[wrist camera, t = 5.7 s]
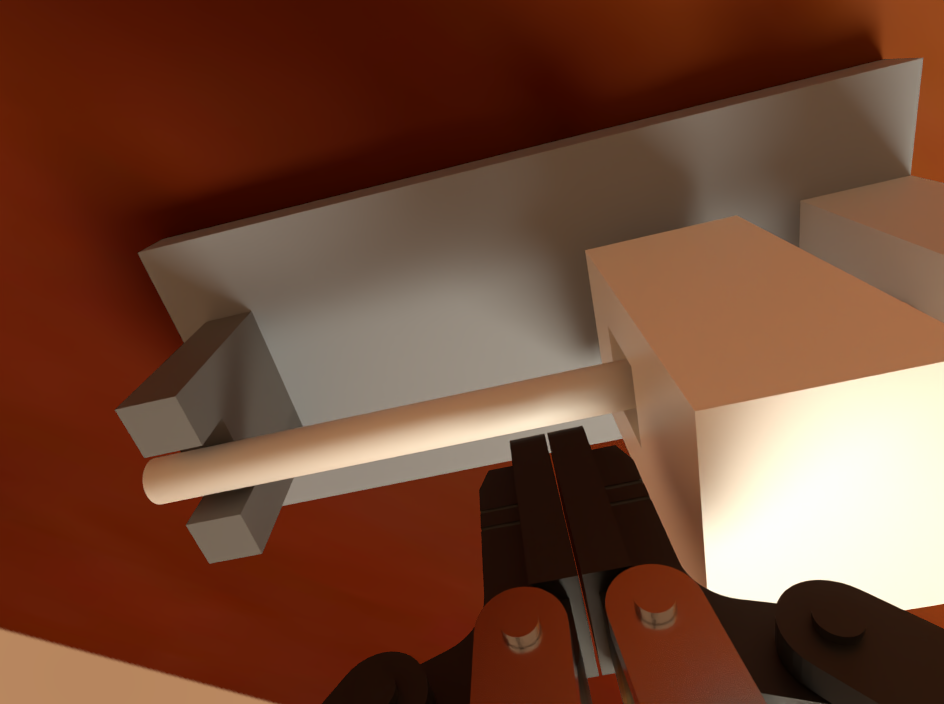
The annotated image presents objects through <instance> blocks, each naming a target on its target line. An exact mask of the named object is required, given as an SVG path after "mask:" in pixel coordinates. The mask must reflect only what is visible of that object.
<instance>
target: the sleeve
mask: <svg viewBox="0 0 944 704" xmlns="http://www.w3.org/2000/svg"><path fill="white" fill-rule="evenodd" d="M585 254H586V260H587V267H588V274H589V280H590V287H591V293H592V300H593V307H594V313H595V320H596V327H597V333H598V340H599V347H600V353H601V360H602V364H603V363H608V362H613V361H617V360H622V359H627V360H628V362H629V364H630V365H631V368H632V376H633V384H634V392H635V400H636V408H634V409H629V410H624V411H619V412H615V413H612V415H613V417H614V419H615V422H616V424H617V426H618V429H619V431H620V433H621V435H622V438H623V440H624V442H625V445H626V447H627V449H628V452H629V454H630V456H631V458H632V459H633V460H634V462H635V464H636V467H637V469H638V471H639V473H640V476H641V478H642V481H643V483H644V484H645V487H646V489H647V491H648V493H649V496H650V499H651V500H652V502H653V504H654V507H655V509H656V511H657V513H658V516H659V518H660V520H661V522H662V524H663V527H664V529H665V531H666V533H667V536H668V538H669V540H670V542H671V544H672V547H673V549H674V551H675V553H676V556H677V558H678V560H679V562H680V564H681V566H682V567H683V569H684V570H685V571H686V573H687V574H688V575H689V576H690V577H691V578H692V579H693V580H695V581H696V582H697V583H699V584H700V585H701V586H703V587H705V588H707V589H709V590H710V591H713V592H715V593H718V594H720V595H723V596H727V597H731V598H737V599H744V600H753V601H762V602H771V603H777V601H778V599H779V598H780V596H781V595H782V593H783V592H784V591H785V590H786V589H788V588H789V587H791V586H792V585H795V584H797V583H800V582H804V581H808V580H830V581H836V582H841V583H844V584H847V585H851V586H853V587H855V588H858V589H860V590H862V591H865V592H867V593H869V594H871V595H873V596H875V597H877V598H879V599H881V600H884V601H886V602H888V603H890V604H892V605H894V606H896V607H898V608H900V609H903V610H908V609H914V608H920V607H926V606H933V605H939V604H944V323H942V322H940V321H938V320H936V319H935V318H933V317H931V316H929V315H927V314H925V313H923V312H921V311H919V310H917V309H915V308H913V307H912V306H910V305H908V304H906V303H904V302H902V301H900V300H898V299H896V298H894V297H892V296H890V295H888V294H887V293H885V292H883V291H881V290H879V289H877V288H875V287H873V286H871V285H869V284H867V283H865V282H864V281H862V280H860V279H858V278H856V277H854V276H852V275H850V274H848V273H846V272H844V271H842V270H841V269H839V268H837V267H835V266H833V265H831V264H829V263H827V262H825V261H823V260H821V259H819V258H818V257H816V256H814V255H812V254H810V253H808V252H806V251H804V250H802V249H800V248H798V247H796V246H795V245H793V244H791V243H789V242H787V241H785V240H783V239H781V238H779V237H777V236H775V235H773V234H772V233H770V232H768V231H766V230H764V229H762V228H760V227H758V226H756V225H754V224H752V223H750V222H748V221H747V220H745V219H743V218H741V217H739V216H737V215H736V216H732V217H727V218H723V219H719V220H714V221H710V222H706V223H701V224H697V225H693V226H688V227H684V228H680V229H675V230H671V231H667V232H662V233H658V234H654V235H649V236H645V237H641V238H636V239H632V240H627V241H623V242H619V243H614V244H610V245H606V246H601V247H597V248H593V249H588V250H585Z"/></svg>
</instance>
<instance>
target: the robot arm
mask: <svg viewBox="0 0 944 704" xmlns="http://www.w3.org/2000/svg"><path fill="white" fill-rule="evenodd" d="M547 435H548V440H549V445H550V450H551V454H552V459H553V464H554V469H555V473H556V478H557V483H558V488H559V492H560V497H561V502H562V506H563V510H562V506H561V502H560V497H559V493H558V489H557V485H556V480H555V476H554V472H553V468H552V463H551V459H550V455H549V451H548V446H547V442H546V438H545V434H539V435H534V436H530V437H525V438H520V439H515V440H510V450H511V457H512V464H513V466H510V467H505V468H500V469H495V470H490V471H488V473H487V475H486V477H485V480H484V482H483V484H482V486H481V488H480V490H479V493H480V511H481V529H482V532H481V536H482V558H483V579H484V606H483V609H482V610H481V612H480V614H479V615H478V617H477V620H476V623H475V627H474V628H473V630H472V631H471V632H470V634H469V635H468V636H467V637H466V638H465V639H464V640H462V641H461V642H460V643H459V644H457V645H456V646H454V647H453V648H451V649H449V650H447V651H446V652H444V653H442V654H440V655H438V656H436V657H434V658H432V659H430V660H428V661H426V662H424V663H422V664H419V663H418V661H417V660H415V659H414V658H413V657H411V656H409V655H407V654H404V653H400V652H384V653H380V654H376V655H374V656H372V657H369V658H367V659H366V660H364V661H362V662H361V663H359V664H358V665H357V666H355V667H354V668H353V669H352V670H351V671H350V672H349V673H348V674H347V675H346V676H345V677H344V679H343V680H342V681H341V682H340V683H339V684H338V686H337V687H336V688H335V689H334V690H333V691H332V693H331V694H330V695H329V696H328V697H327V698H326V700H325V701H324V702H323V703H322V704H592V699H591V695H590V690H589V685H588V680H587V678H590V677H596V676H599V674H598V669H597V665H596V660H595V655H594V650H593V645H592V641H591V636H590V631H589V626H588V622H587V617H586V612H585V607H584V602H583V598H582V593H581V588H580V583H581V587H582V591H583V595H584V599H585V604H586V608H587V612H588V616H589V620H590V625H591V629H592V633H593V637H594V641H595V646H596V650H597V654H598V658H599V663H600V667H601V671H602V675H606V674H612V673H615V674H616V677H617V681H618V685H619V689H620V693H621V697H622V701H623V704H944V629H943V628H941V627H939V626H936V625H934V624H932V623H930V622H928V621H926V620H924V619H922V618H919V617H917V616H915V615H913V614H911V613H909V612H907V611H905V610H903V609H900V608H898V607H896V606H894V605H892V604H890V603H888V602H886V601H884V600H881V599H879V598H877V597H875V596H873V595H871V594H869V593H867V592H865V591H862V590H860V589H858V588H855V587H853V586H851V585H847V584H844V583H841V582H836V581H830V580H808V581H804V582H800V583H797V584H795V585H792V586H791V587H789V588H788V589H786V590H785V591H784V592H783V593H782V595H781V596H780V598H779V599H778V601H777V603H771V602H762V601H753V600H744V599H737V598H731V597H727V596H723V595H720V594H718V593H715V592H713V591H710V590H709V589H707V588H705V587H703V586H701V585H700V584H699V583H697V582H696V581H695V580H693V579H692V578H691V577H690V576H689V575H688V574H687V573H686V571H685V570H684V569H683V567H682V566H681V564H680V562H679V560H678V558H677V556H676V553H675V551H674V549H673V547H672V544H671V542H670V540H669V538H668V536H667V533H666V531H665V529H664V527H663V524H662V522H661V520H660V518H659V516H658V513H657V511H656V509H655V507H654V504H653V502H652V500H651V499H650V496H649V493H648V491H647V489H646V487H645V484H644V483H643V481H642V478H641V476H640V473H639V471H638V469H637V467H636V464H635V462H634V460H633V459H632V458H631V457H629V456H628V455H627V454H626V453H624V452H623V451H622V450H621V449H619V448H618V447H617V446H615V445H614V446H609V447H604V448H599V449H594V450H591V447H590V444H589V441H588V439H587V436H586V433H585V430H584V428H583V426H578V427H573V428H568V429H563V430H558V431H553V432H549V433H547ZM563 511H564V514H563ZM564 515H565V519H566V523H565V519H564ZM566 524H567V527H566ZM567 528H568V531H567ZM568 532H569V536H570V540H571V544H570V540H569V536H568ZM571 545H572V548H571ZM572 549H573V553H574V557H575V561H576V565H575V561H574V557H573V553H572ZM576 566H577V570H578V574H579V578H580V583H579V578H578V574H577V570H576Z"/></svg>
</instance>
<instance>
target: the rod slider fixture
mask: <svg viewBox="0 0 944 704" xmlns="http://www.w3.org/2000/svg"><path fill="white" fill-rule="evenodd" d="M922 64H923V58H904V59H883V60H879V61H875V62H871V63H867V64H863V65H859V66H855V67H851V68H847V69H843V70H839V71H835V72H831V73H827V74H823V75H819V76H815V77H811V78H807V79H803V80H799V81H795V82H791V83H787V84H783V85H779V86H775V87H771V88H767V89H763V90H759V91H755V92H751V93H747V94H743V95H738V96H734V97H730V98H726V99H722V100H718V101H714V102H710V103H706V104H702V105H698V106H694V107H690V108H686V109H682V110H678V111H674V112H670V113H666V114H662V115H658V116H654V117H650V118H646V119H642V120H638V121H634V122H630V123H626V124H622V125H618V126H614V127H610V128H606V129H602V130H598V131H594V132H590V133H586V134H582V135H578V136H574V137H570V138H566V139H562V140H558V141H554V142H550V143H546V144H542V145H538V146H534V147H530V148H526V149H522V150H518V151H514V152H510V153H506V154H502V155H498V156H494V157H490V158H486V159H482V160H478V161H474V162H470V163H466V164H462V165H458V166H454V167H450V168H446V169H442V170H438V171H434V172H430V173H426V174H422V175H418V176H414V177H410V178H406V179H402V180H398V181H394V182H390V183H386V184H382V185H378V186H374V187H370V188H366V189H362V190H358V191H354V192H350V193H346V194H342V195H338V196H334V197H330V198H326V199H322V200H318V201H314V202H310V203H306V204H302V205H298V206H294V207H290V208H286V209H282V210H277V211H273V212H269V213H265V214H261V215H257V216H253V217H249V218H245V219H241V220H237V221H233V222H229V223H225V224H221V225H217V226H213V227H209V228H205V229H201V230H197V231H193V232H189V233H185V234H181V235H177V236H173V237H169V238H165V239H162V240H160V241H158V242H156V243H154V244H153V245H151V246H149V247H147V248H145V249H144V250H142V251H140V252H138V255H139V257H140V259H141V261H142V263H143V265H144V266H145V268H146V270H147V272H148V274H149V276H150V278H151V280H152V282H153V284H154V286H155V288H156V290H157V292H158V293H159V295H160V297H161V299H162V301H163V303H164V305H165V307H166V309H167V311H168V313H169V315H170V317H171V319H172V321H173V322H174V324H175V326H176V328H177V330H178V332H179V334H180V336H181V338H182V340H183V342H184V344H183V345H182V346H181V347H180V348H179V349H177V350H176V351H175V352H174V353H173V354H172V355H171V356H170V357H169V358H168V359H167V360H166V361H165V362H164V363H163V364H162V365H161V366H160V367H159V368H158V369H157V370H156V371H155V372H154V373H153V374H152V375H150V376H149V377H148V378H147V379H146V380H145V381H144V382H143V383H142V384H141V385H140V386H139V387H138V388H137V389H136V390H135V391H134V392H133V393H132V394H131V395H130V396H129V397H128V398H127V399H126V400H125V401H123V402H122V403H121V404H120V405H119V406H118V407H117V408H116V409H115V411H116V412H117V414H118V416H119V417H120V419H121V421H122V422H123V424H124V425H125V427H126V429H127V430H128V432H129V434H130V435H131V437H132V438H133V440H134V442H135V443H136V445H137V447H138V448H139V450H140V451H141V453H142V455H143V456H144V458H146V457H151V456H156V455H160V454H165V453H170V452H175V451H179V450H180V451H181V453H176V454H172V455H167V456H162V457H157V458H153V459H151V460H150V461H149V462H148V463H147V465H146V467H145V469H144V472H143V486H144V490H145V493H146V495H147V497H148V498H149V499H150V500H151V501H152V502H153V503H155V504H165V503H170V502H175V501H180V500H185V499H190V498H195V497H200V496H204V497H203V498H202V500H201V501H200V503H199V505H198V506H197V508H196V510H195V511H194V513H193V514H192V516H191V518H190V519H189V521H188V523H187V524H186V526H187V528H188V529H189V531H190V533H191V534H192V536H193V538H194V539H195V541H196V542H197V544H198V546H199V547H200V549H201V551H202V552H203V554H204V555H205V557H206V559H207V560H208V562H209V564H210V563H215V562H220V561H226V560H231V559H236V558H241V557H247V556H252V555H257V554H262V552H263V550H264V548H265V545H266V543H267V540H268V538H269V536H270V533H271V531H272V529H273V526H274V524H275V521H276V519H277V517H278V514H279V512H280V510H281V507H282V506H284V505H289V504H294V503H299V502H304V501H309V500H314V499H319V498H324V497H329V496H334V495H339V494H344V493H349V492H354V491H359V490H365V489H370V488H375V487H380V486H385V485H390V484H395V483H400V482H405V481H410V480H415V479H420V478H425V477H430V476H435V475H440V474H445V473H450V472H455V471H461V470H466V469H471V468H476V467H481V466H486V465H491V464H496V463H501V462H506V461H511V460H512V457H511V450H510V440H515V439H520V438H525V437H530V436H534V435H539V434H545V438H546V442H547V446H548V451H549V453H551V450H550V445H549V440H548V435H547V433H549V432H553V431H558V430H563V429H568V428H573V427H578V426H583V428H584V430H585V433H586V436H587V439H588V441H589V444H590V445H592V444H597V443H602V442H607V441H612V440H617V439H622V435H621V433H620V431H619V429H618V426H617V424H616V422H615V419H614V417H613V415H612V413H615V412H619V411H624V410H629V409H634V408H636V400H635V392H634V384H633V376H632V368H631V365H630V364H629V362H628V360H627V359H622V360H617V361H613V362H608V363H603V364H602V360H601V353H600V347H599V340H598V333H597V327H596V320H595V313H594V307H593V300H592V293H591V287H590V280H589V274H588V267H587V260H586V254H585V250H588V249H593V248H597V247H601V246H606V245H610V244H614V243H619V242H623V241H627V240H632V239H636V238H641V237H645V236H649V235H654V234H658V233H662V232H667V231H671V230H675V229H680V228H684V227H688V226H693V225H697V224H701V223H706V222H710V221H714V220H719V219H723V218H727V217H732V216H736V215H737V216H739V217H741V218H743V219H745V220H747V221H748V222H750V223H752V224H754V225H756V226H758V227H760V228H762V229H764V230H766V231H768V232H770V233H772V234H773V235H775V236H777V237H779V238H781V239H783V240H785V241H787V242H789V243H791V244H793V245H795V246H796V247H798V248H800V249H802V250H804V251H806V252H808V253H810V254H812V255H814V256H816V257H818V258H819V259H821V260H823V261H825V262H827V263H829V264H831V265H833V266H835V267H837V268H839V269H841V270H842V271H844V272H846V273H848V274H850V275H852V276H854V277H856V278H858V279H860V280H862V281H864V282H865V283H867V284H869V285H871V286H873V287H875V288H877V289H879V290H881V291H883V292H885V293H887V294H888V295H890V296H892V297H894V298H896V299H898V300H900V301H902V302H904V303H906V304H908V305H910V306H912V307H913V308H915V309H917V310H919V311H921V312H923V313H925V314H927V315H929V316H931V317H933V318H935V319H936V320H938V321H940V322H942V323H944V183H941V182H937V181H933V180H928V179H924V178H919V177H915V176H911V175H910V174H911V165H912V155H913V146H914V137H915V128H916V119H917V110H918V101H919V91H920V82H921V73H922Z"/></svg>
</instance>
